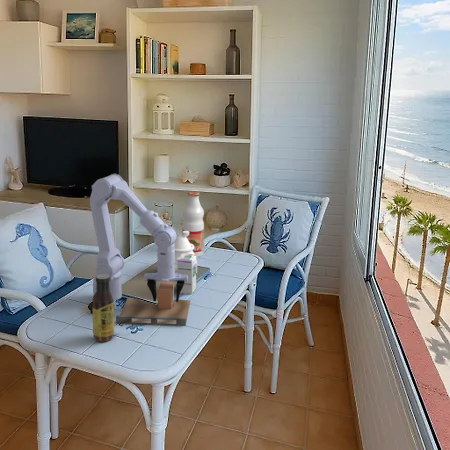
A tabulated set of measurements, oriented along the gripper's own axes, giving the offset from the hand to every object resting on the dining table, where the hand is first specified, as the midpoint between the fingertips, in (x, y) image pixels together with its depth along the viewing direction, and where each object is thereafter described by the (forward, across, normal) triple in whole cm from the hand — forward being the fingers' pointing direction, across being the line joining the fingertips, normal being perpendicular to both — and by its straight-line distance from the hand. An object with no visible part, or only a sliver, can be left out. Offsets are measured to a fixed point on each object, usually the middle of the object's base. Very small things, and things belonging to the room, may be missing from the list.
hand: (166, 300), depth 169 cm
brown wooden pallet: (+3, -3, -5) cm, 6 cm away
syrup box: (+3, +6, +12) cm, 14 cm away
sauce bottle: (+3, -16, -21) cm, 27 cm away
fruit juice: (+3, +5, +53) cm, 53 cm away
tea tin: (+2, 0, 0) cm, 2 cm away
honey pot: (+3, +2, +30) cm, 30 cm away
